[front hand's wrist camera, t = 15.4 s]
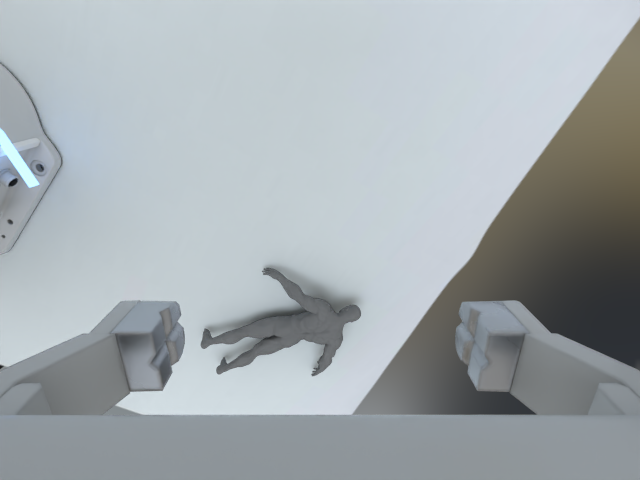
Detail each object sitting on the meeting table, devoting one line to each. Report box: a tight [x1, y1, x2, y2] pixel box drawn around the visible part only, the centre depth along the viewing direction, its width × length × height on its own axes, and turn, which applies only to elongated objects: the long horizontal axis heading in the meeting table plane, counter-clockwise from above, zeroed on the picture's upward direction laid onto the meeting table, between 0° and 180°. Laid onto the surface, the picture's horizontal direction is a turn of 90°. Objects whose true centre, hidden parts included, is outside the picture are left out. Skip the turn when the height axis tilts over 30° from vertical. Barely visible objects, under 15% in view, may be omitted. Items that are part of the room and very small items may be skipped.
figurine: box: [201, 268, 361, 376], centre depth 44 cm, size 17×4×20 cm
